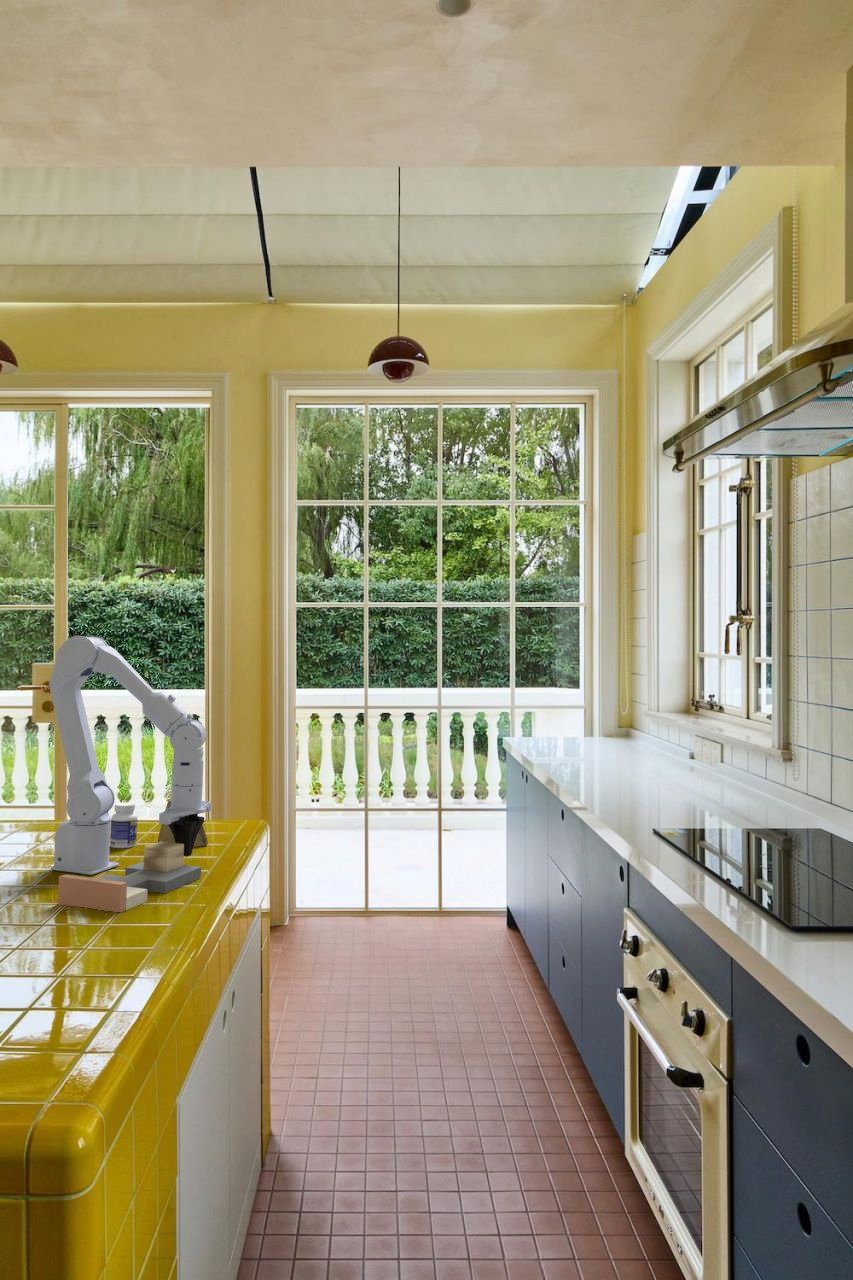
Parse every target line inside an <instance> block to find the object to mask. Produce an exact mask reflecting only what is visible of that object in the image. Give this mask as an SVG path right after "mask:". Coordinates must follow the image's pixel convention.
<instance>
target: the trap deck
mask: <svg viewBox="0 0 853 1280" xmlns="http://www.w3.org/2000/svg"><path fill="white" fill-rule="evenodd" d="M201 877H202V867H201V866H195V865H188V864H183V866H181V867H179V868H176V869H174V870H171V871H169V872H163V871H155V870H147V869H144V860H142V861H141V862H138V863H135V864H131V865H130V866H127V867H126V866H125V871H124V876H122V875H115V874H108V873H107V874H104V875H102V876H98V877H87V876H81V875H73V874H66V873H65V874H61V875H60V876H58V891H57V892H58V897H57V905H59V906H60V905H61V906H68V907H74V906H75V907H74V908H80V907H85V908H84V909H87V908H93V909H92V910H94V909H98V910H97V911H101V910H105V911H104V912H108V911H113V912H112V913H115V912H122V913H124V912H126V911H128V910H130V909H133V908H135V907H137V906H140V905H141V904H142V905H143V904H144V903H146V902H148V892H152V893H159V894H167V893H169V892H172V891H174V890H177V889H178V888H181V887H183V886H186V885H188V884H190V883H192V882H195V881H197V880H199V879H201ZM76 906H78V907H76ZM125 910H126V911H125ZM123 911H124V912H123Z"/></svg>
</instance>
